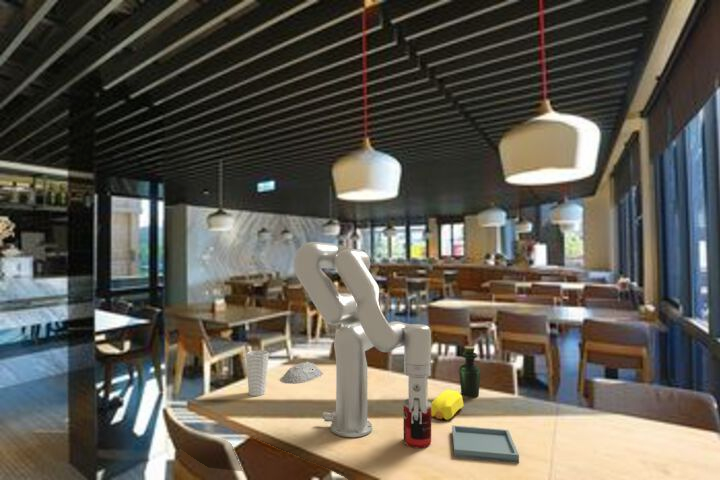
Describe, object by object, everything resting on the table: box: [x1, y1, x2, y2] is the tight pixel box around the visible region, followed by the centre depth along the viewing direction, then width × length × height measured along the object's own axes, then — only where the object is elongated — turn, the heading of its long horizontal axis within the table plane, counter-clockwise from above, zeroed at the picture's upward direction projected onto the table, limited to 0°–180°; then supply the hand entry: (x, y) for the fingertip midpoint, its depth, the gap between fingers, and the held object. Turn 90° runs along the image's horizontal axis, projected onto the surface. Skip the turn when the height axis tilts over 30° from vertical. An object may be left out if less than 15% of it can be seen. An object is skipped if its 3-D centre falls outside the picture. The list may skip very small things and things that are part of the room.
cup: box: [245, 349, 270, 397], centre depth 158 cm, size 8×8×16 cm
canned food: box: [403, 398, 432, 449], centre depth 117 cm, size 8×8×11 cm
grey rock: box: [280, 361, 324, 385], centre depth 182 cm, size 16×25×7 cm, turn 160°
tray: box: [451, 425, 520, 464], centre depth 114 cm, size 16×16×2 cm
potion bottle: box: [458, 345, 481, 398], centre depth 159 cm, size 8×8×18 cm
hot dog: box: [430, 389, 464, 421], centre depth 139 cm, size 18×7×8 cm
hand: (417, 431), depth 117 cm, fingers closed on canned food, 8 cm apart
